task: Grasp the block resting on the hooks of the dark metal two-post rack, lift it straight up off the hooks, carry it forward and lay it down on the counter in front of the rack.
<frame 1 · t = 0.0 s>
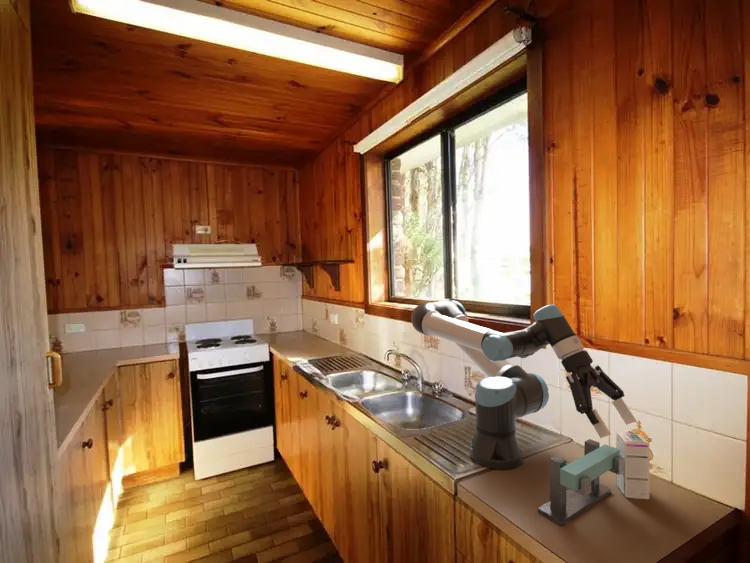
hand: (619, 429, 102), 15 cm above the counter, tool tilted 35°, fingers open, 13 cm apart
rack: (575, 501, 96), on the counter
syrup box: (632, 493, 100), on the counter
block: (591, 473, 93), point 9 cm above the counter, touching rack
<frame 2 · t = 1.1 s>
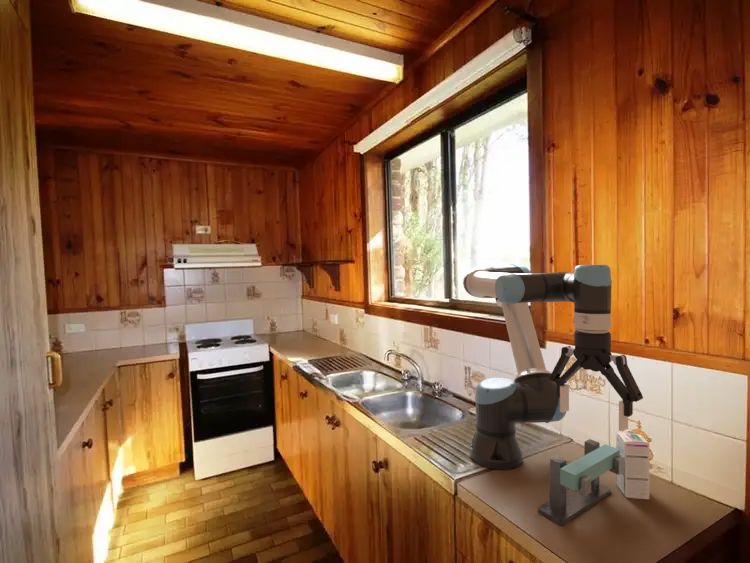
hand: (592, 419, 92), 22 cm above the counter, tool pointing down, fingers open, 13 cm apart
nothing on the counter moved.
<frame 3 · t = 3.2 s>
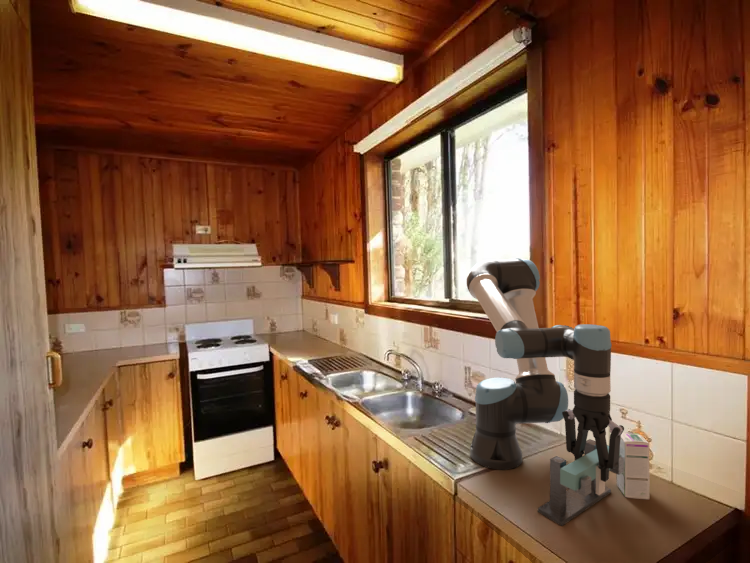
hand: (591, 488, 93), 5 cm above the counter, tool pointing down, fingers closed on block, 3 cm apart
block: (591, 473, 93), point 9 cm above the counter, touching gripper, rack
everything else where it was.
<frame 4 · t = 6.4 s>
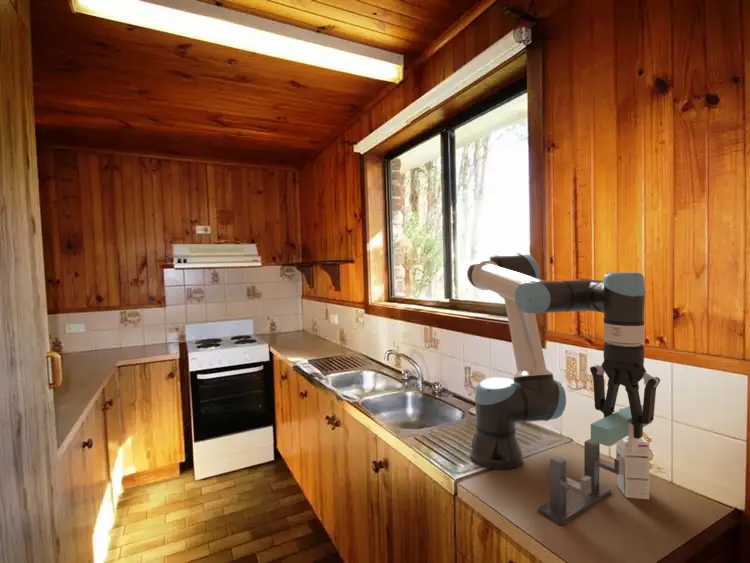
hand: (622, 447, 87), 18 cm above the counter, tool pointing down, fingers closed on block, 3 cm apart
block: (622, 431, 86), point 22 cm above the counter, touching gripper
everything else where it was.
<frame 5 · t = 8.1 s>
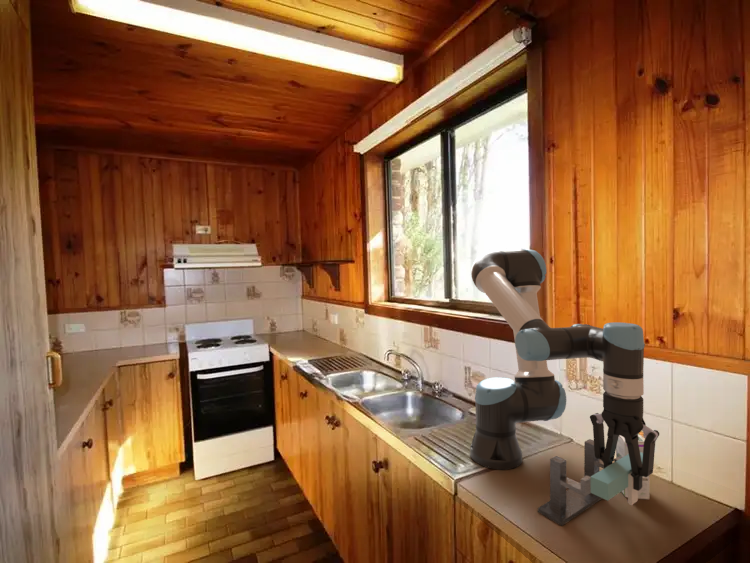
hand: (622, 497, 87), 7 cm above the counter, tool pointing down, fingers closed on block, 3 cm apart
block: (622, 481, 87), point 10 cm above the counter, touching gripper
everything else where it was.
when the fingers open (1 cm above the counter, at t = 9.4 s): block drops 5 cm, on the counter.
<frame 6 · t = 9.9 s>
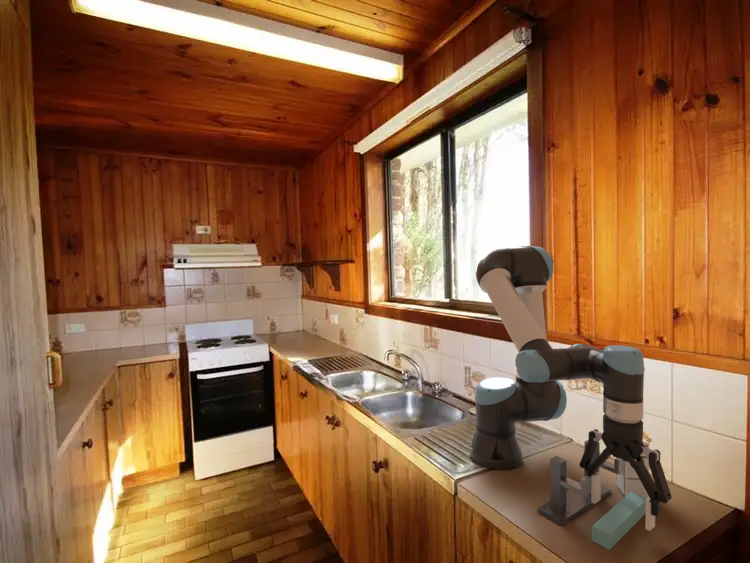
hand: (621, 513, 87), 3 cm above the counter, tool pointing down, fingers open, 10 cm apart
block: (621, 526, 88), on the counter
everything else where it was.
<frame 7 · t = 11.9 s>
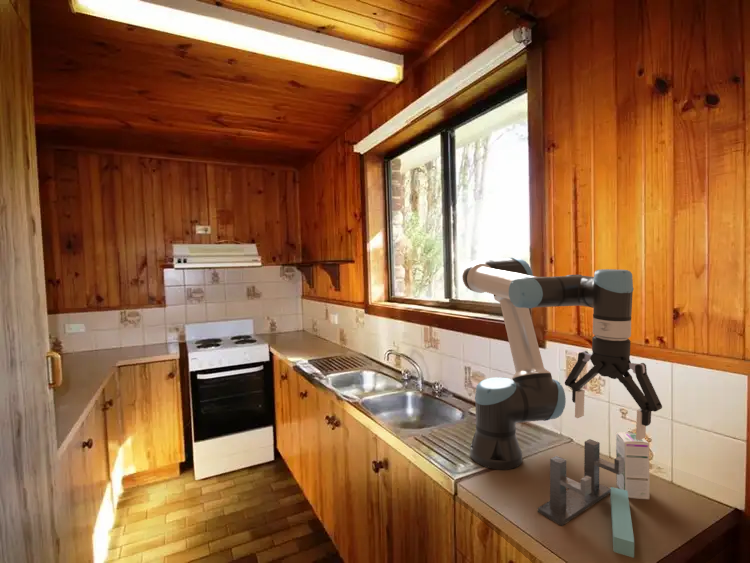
hand: (608, 426, 91), 21 cm above the counter, tool pointing down, fingers open, 13 cm apart
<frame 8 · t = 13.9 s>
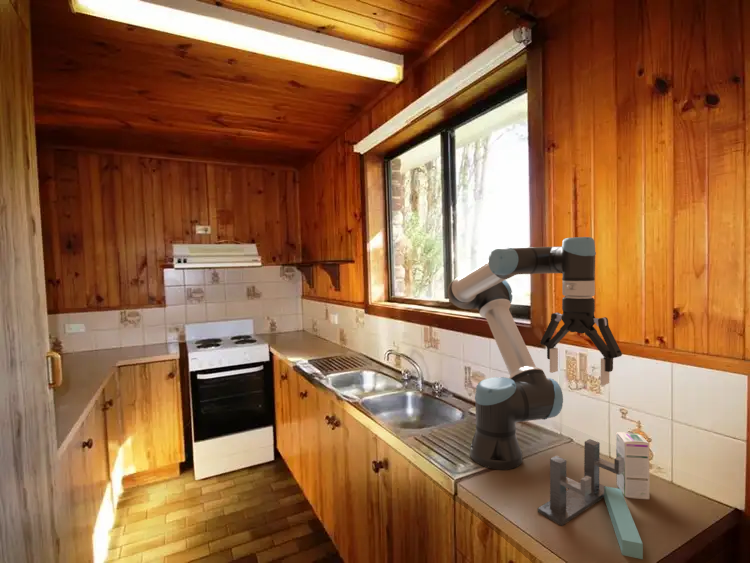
hand: (577, 377, 103), 29 cm above the counter, tool pointing down, fingers open, 13 cm apart
at the end: block inside the target area (0.5 cm from its centre), on the counter; block touching counter; the gripper is holding nothing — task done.
